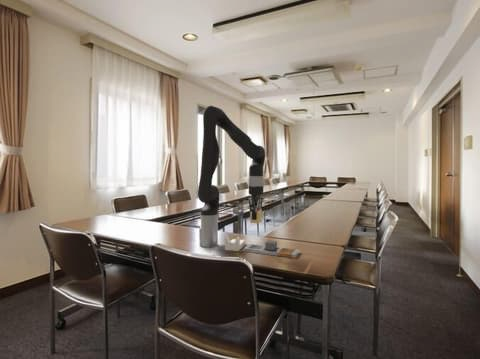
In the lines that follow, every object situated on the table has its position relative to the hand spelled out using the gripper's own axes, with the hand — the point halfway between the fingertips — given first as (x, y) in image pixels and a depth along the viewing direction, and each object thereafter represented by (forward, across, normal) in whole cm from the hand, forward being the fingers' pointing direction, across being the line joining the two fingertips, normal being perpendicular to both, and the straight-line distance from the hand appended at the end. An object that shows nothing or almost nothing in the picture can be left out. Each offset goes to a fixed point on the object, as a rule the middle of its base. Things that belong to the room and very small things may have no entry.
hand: (255, 218), depth 139 cm
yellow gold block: (+2, 0, 0) cm, 2 cm away
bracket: (+18, -1, -12) cm, 21 cm away
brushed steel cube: (+16, 0, +8) cm, 18 cm away
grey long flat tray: (+17, 0, +8) cm, 19 cm away
